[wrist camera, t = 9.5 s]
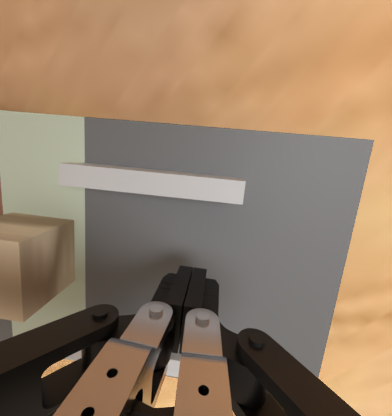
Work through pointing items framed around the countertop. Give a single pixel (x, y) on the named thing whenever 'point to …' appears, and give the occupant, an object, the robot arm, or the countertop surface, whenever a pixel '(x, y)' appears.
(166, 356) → the robot arm
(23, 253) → the beech block
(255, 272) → the board
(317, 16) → the countertop surface
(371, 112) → the countertop surface
